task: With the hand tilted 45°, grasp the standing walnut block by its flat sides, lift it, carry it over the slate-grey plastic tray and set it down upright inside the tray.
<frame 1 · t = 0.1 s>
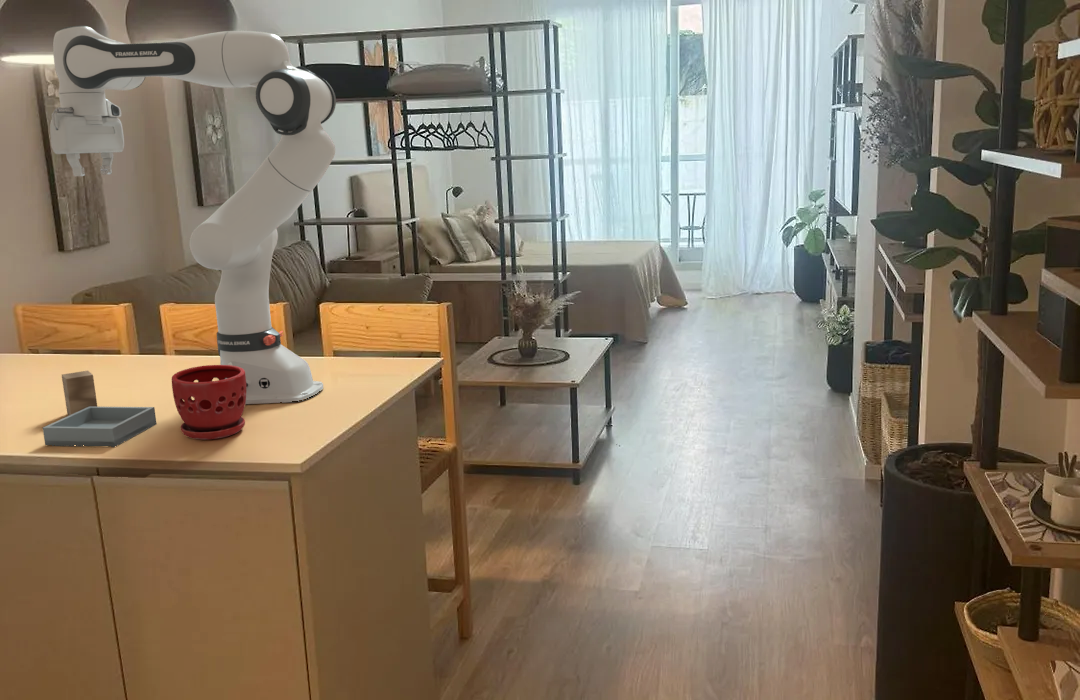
hand: (93, 175, 200), 48 cm above the table, tool pointing down, fingers open, 8 cm apart
tray: (102, 434, 180), on the table
plant pot: (215, 434, 178), on the table
walnut block: (82, 414, 194), on the table
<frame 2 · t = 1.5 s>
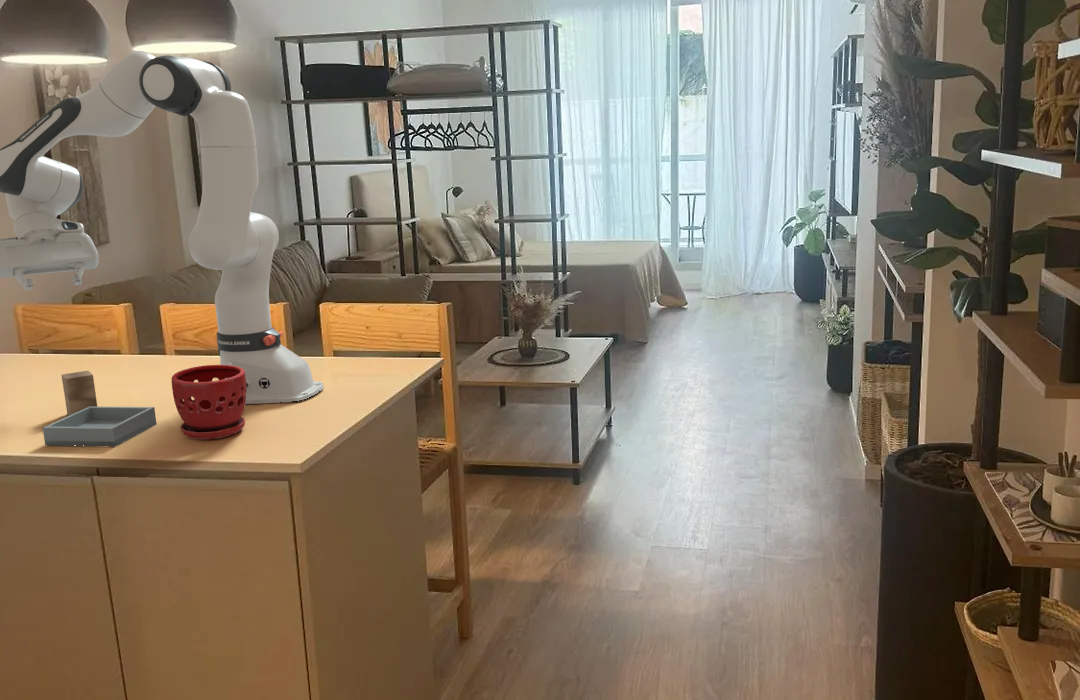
hand: (53, 285, 198), 26 cm above the table, tool tilted 45°, fingers open, 8 cm apart
nothing on the table moved.
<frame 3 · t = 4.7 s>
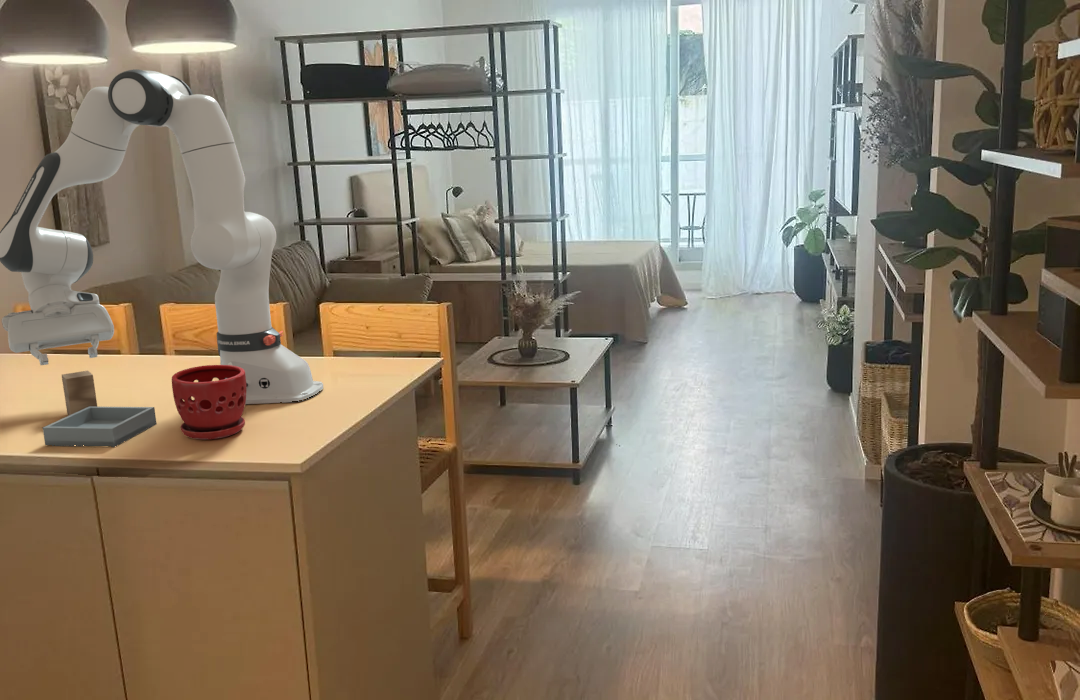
hand: (69, 359, 197), 10 cm above the table, tool tilted 45°, fingers open, 8 cm apart
nothing on the table moved.
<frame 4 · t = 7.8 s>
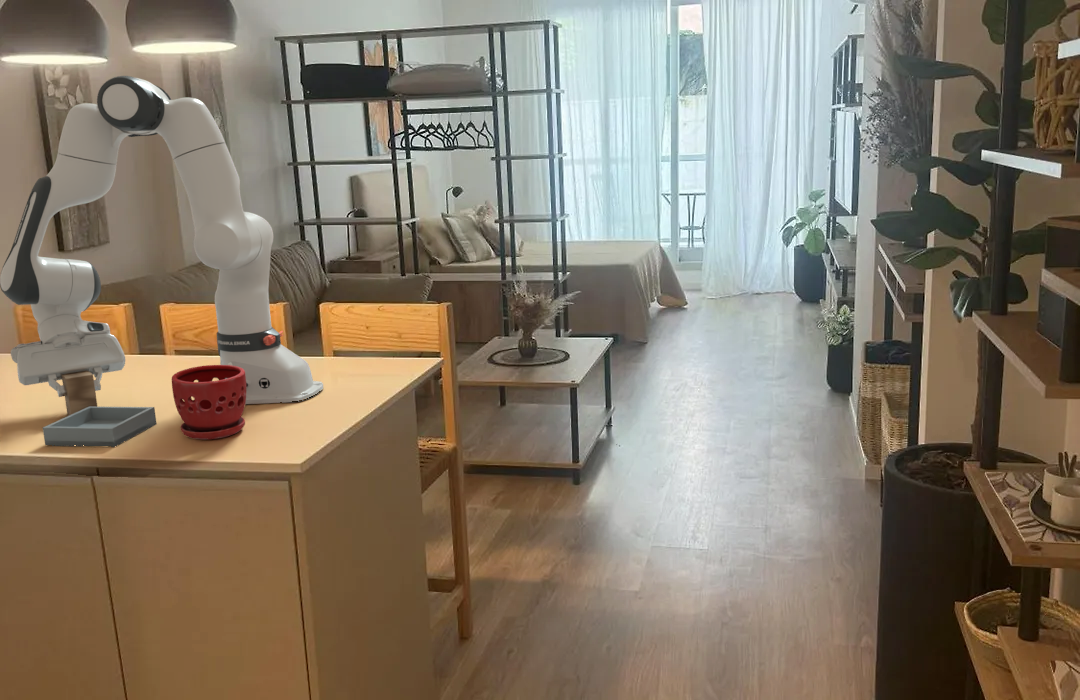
hand: (80, 392, 193), 5 cm above the table, tool tilted 45°, fingers closed on walnut block, 5 cm apart
walnut block: (82, 414, 194), on the table, touching gripper
everything else where it was.
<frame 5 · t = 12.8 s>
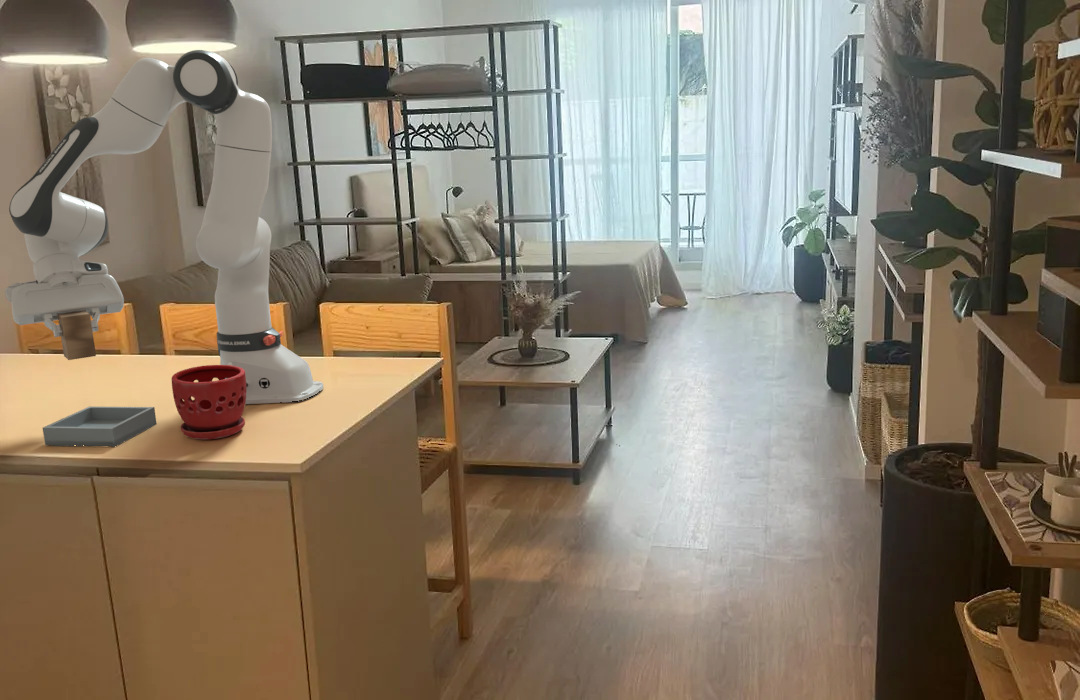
hand: (77, 332, 186), 18 cm above the table, tool tilted 45°, fingers closed on walnut block, 5 cm apart
walnut block: (80, 356, 187), point 13 cm above the table, touching gripper
everything else where it was.
when the fingers open (7 cm above the table, at t = 17.9 s): walnut block stays where it is, resting on tray.
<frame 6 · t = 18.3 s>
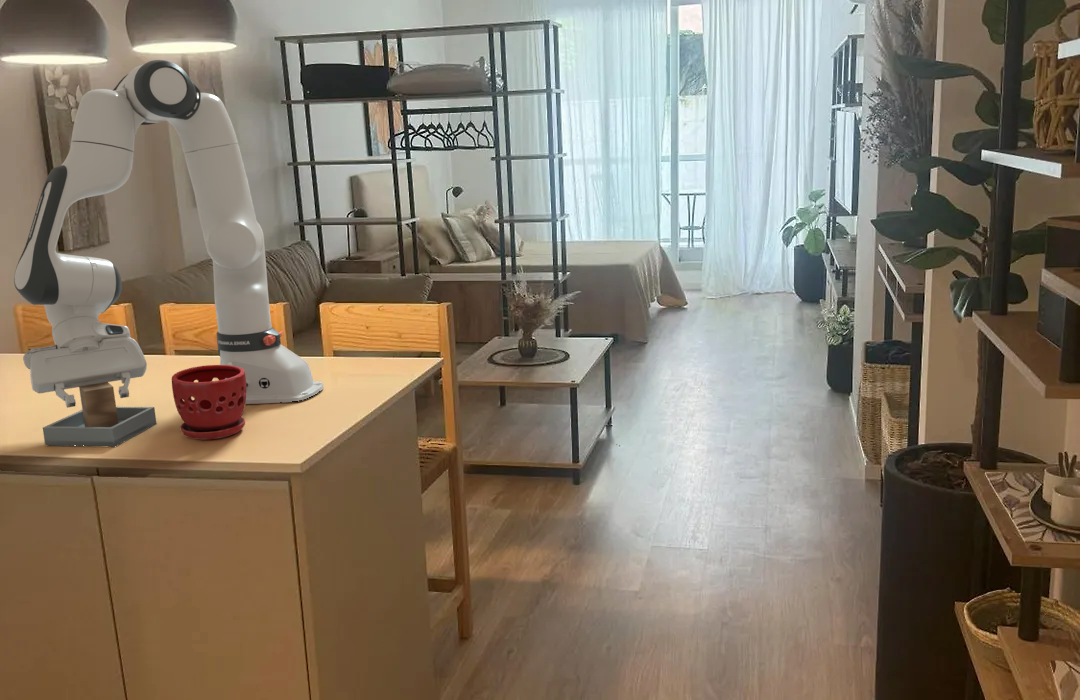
hand: (98, 400, 178), 7 cm above the table, tool tilted 45°, fingers open, 8 cm apart
walnut block: (102, 429, 179), point 1 cm above the table, touching tray
everything else where it was.
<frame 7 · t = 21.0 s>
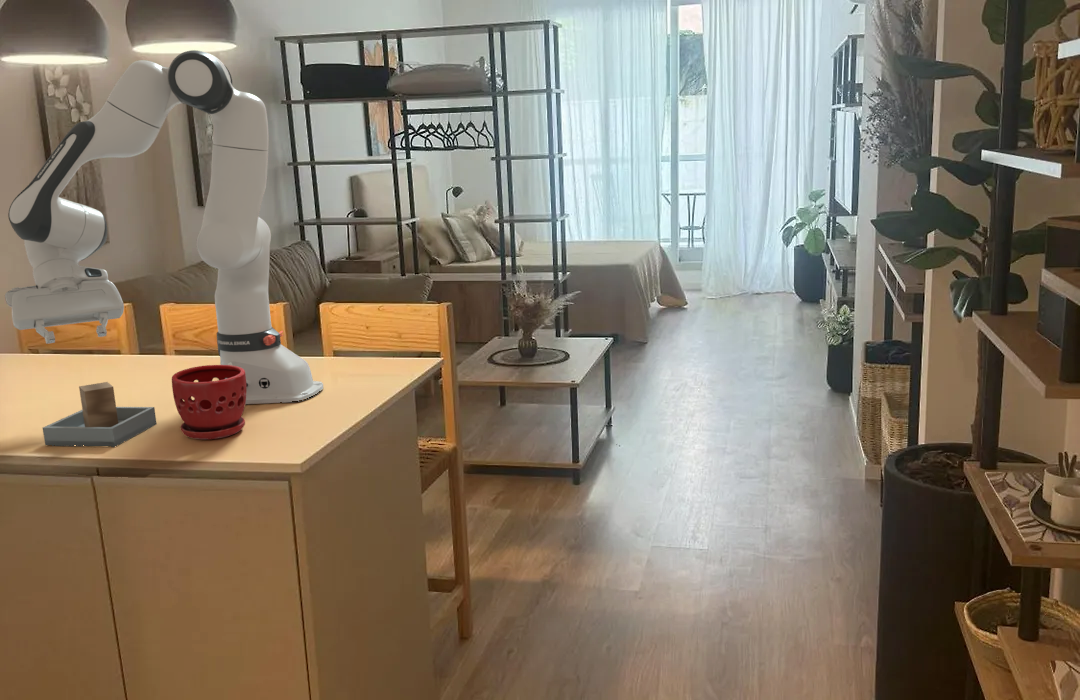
hand: (77, 338, 186), 17 cm above the table, tool tilted 45°, fingers open, 8 cm apart
nothing on the table moved.
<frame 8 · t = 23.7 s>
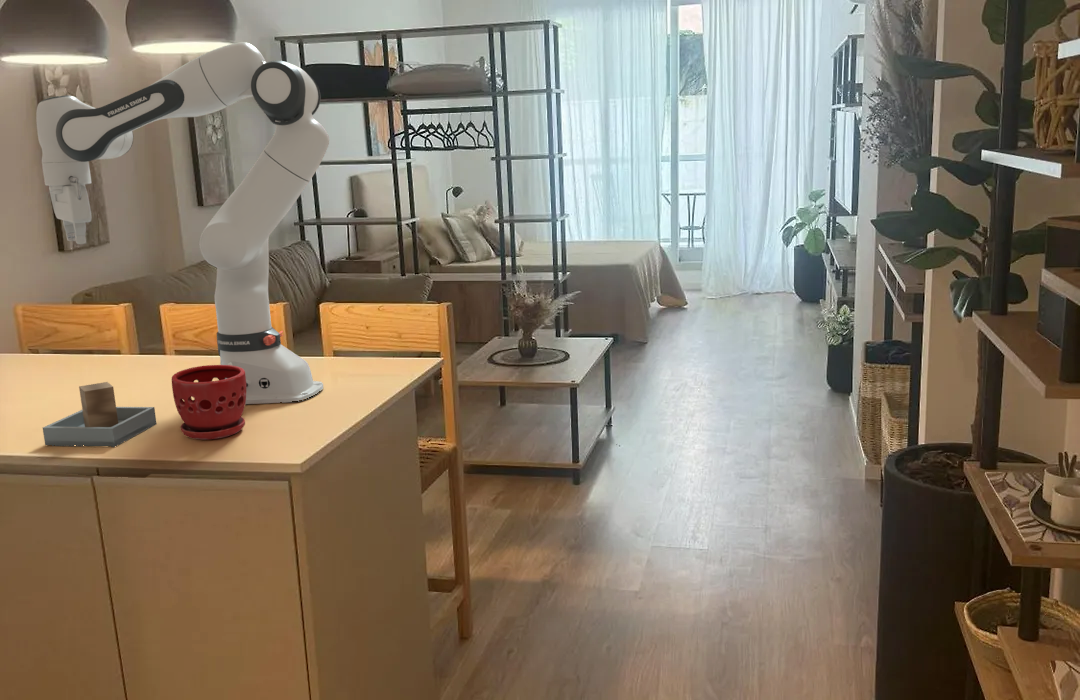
hand: (76, 242, 200), 34 cm above the table, tool pointing down, fingers open, 8 cm apart
nothing on the table moved.
at the end: walnut block inside the target area on the tray (0.0 cm from its centre), point 1.0 cm above the tray's base; walnut block tilted 0°; the gripper is holding nothing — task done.
